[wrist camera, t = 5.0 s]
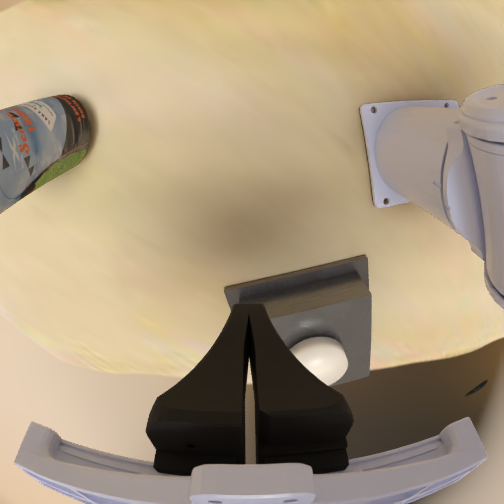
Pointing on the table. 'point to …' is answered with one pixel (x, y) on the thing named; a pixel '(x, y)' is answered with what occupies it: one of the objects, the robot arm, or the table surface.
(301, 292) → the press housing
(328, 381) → the plunger
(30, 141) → the beverage can
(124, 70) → the table surface
